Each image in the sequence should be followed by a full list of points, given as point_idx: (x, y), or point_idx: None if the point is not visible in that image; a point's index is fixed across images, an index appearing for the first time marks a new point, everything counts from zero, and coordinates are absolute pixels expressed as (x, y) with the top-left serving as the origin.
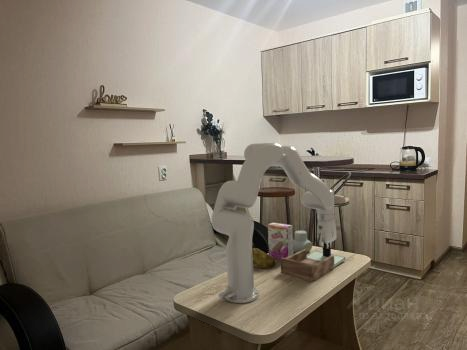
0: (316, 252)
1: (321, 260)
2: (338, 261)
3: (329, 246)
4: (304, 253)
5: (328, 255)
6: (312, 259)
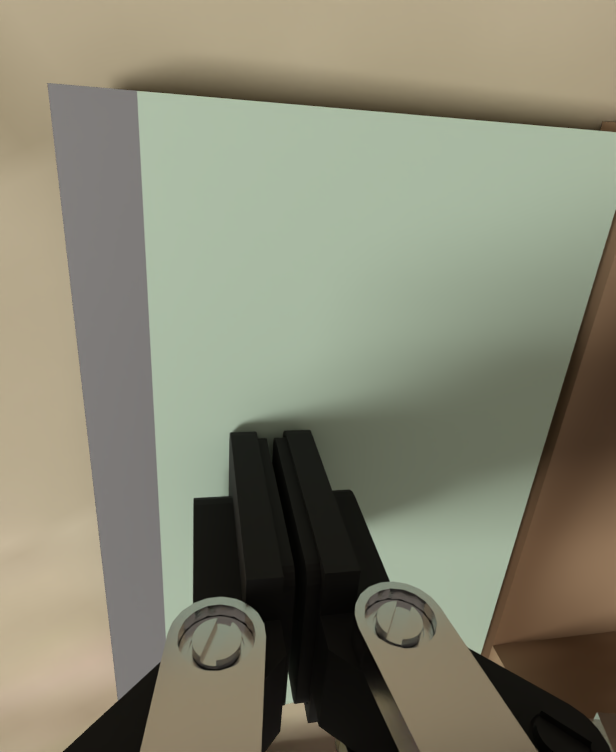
0: None
1: (513, 446)
2: (449, 121)
3: (264, 639)
4: None
5: (314, 455)
6: (518, 567)
